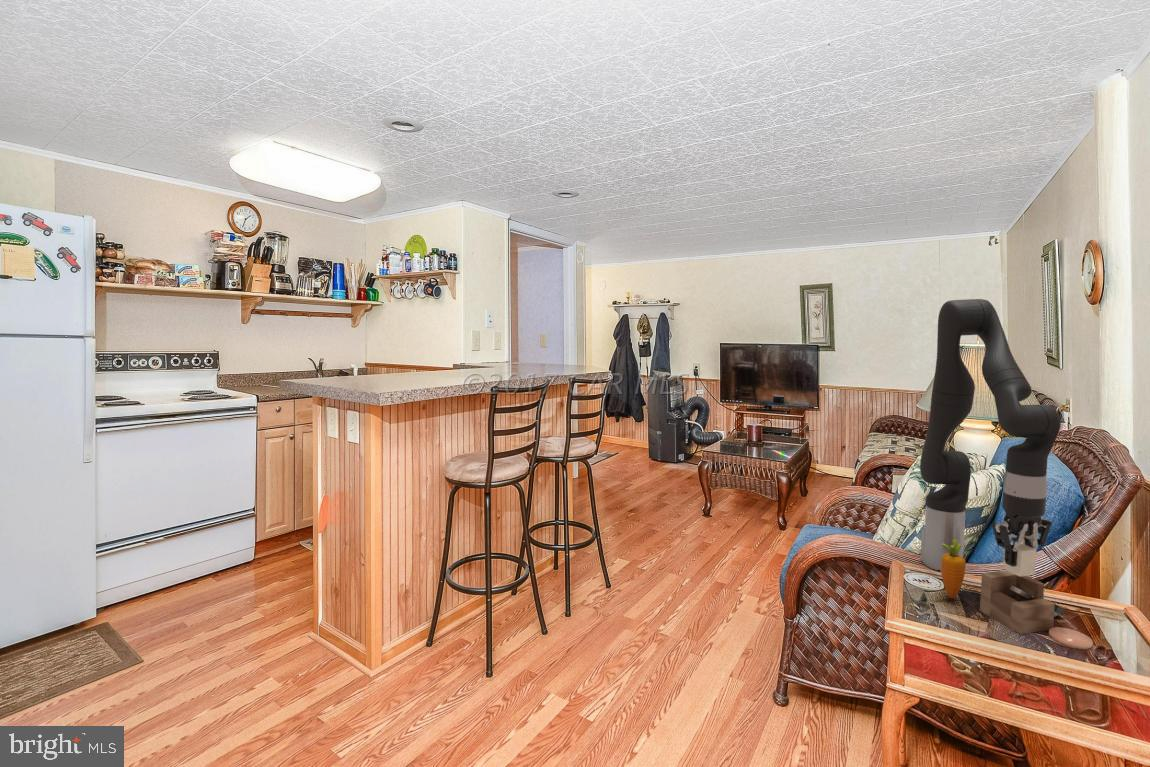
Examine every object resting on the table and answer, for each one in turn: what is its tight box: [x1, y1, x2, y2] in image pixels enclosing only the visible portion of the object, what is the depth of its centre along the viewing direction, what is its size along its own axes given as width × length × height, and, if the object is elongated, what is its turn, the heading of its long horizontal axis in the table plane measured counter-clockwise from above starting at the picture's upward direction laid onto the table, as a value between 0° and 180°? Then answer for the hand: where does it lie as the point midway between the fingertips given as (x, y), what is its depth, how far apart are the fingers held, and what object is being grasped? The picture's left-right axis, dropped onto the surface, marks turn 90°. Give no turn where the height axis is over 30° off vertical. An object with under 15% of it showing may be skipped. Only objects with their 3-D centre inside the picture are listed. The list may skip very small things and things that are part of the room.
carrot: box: [940, 539, 967, 600], centre depth 134 cm, size 5×5×15 cm
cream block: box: [1002, 542, 1037, 577], centre depth 123 cm, size 4×4×6 cm
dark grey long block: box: [1010, 585, 1067, 618], centre depth 125 cm, size 13×4×3 cm
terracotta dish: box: [1048, 626, 1094, 650], centre depth 116 cm, size 7×7×1 cm
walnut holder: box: [979, 569, 1056, 635], centre depth 124 cm, size 10×10×10 cm
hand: (1019, 563), depth 123 cm, fingers closed on cream block, 4 cm apart
